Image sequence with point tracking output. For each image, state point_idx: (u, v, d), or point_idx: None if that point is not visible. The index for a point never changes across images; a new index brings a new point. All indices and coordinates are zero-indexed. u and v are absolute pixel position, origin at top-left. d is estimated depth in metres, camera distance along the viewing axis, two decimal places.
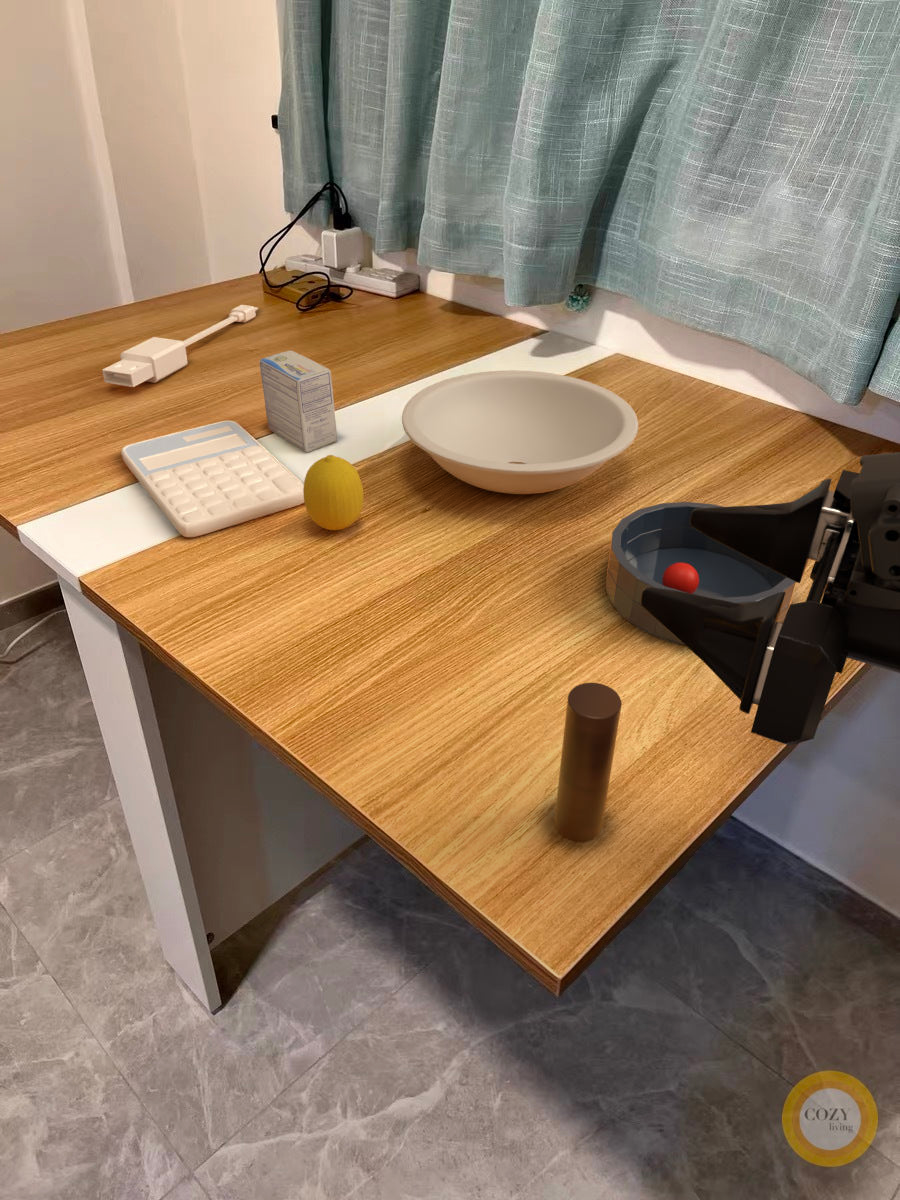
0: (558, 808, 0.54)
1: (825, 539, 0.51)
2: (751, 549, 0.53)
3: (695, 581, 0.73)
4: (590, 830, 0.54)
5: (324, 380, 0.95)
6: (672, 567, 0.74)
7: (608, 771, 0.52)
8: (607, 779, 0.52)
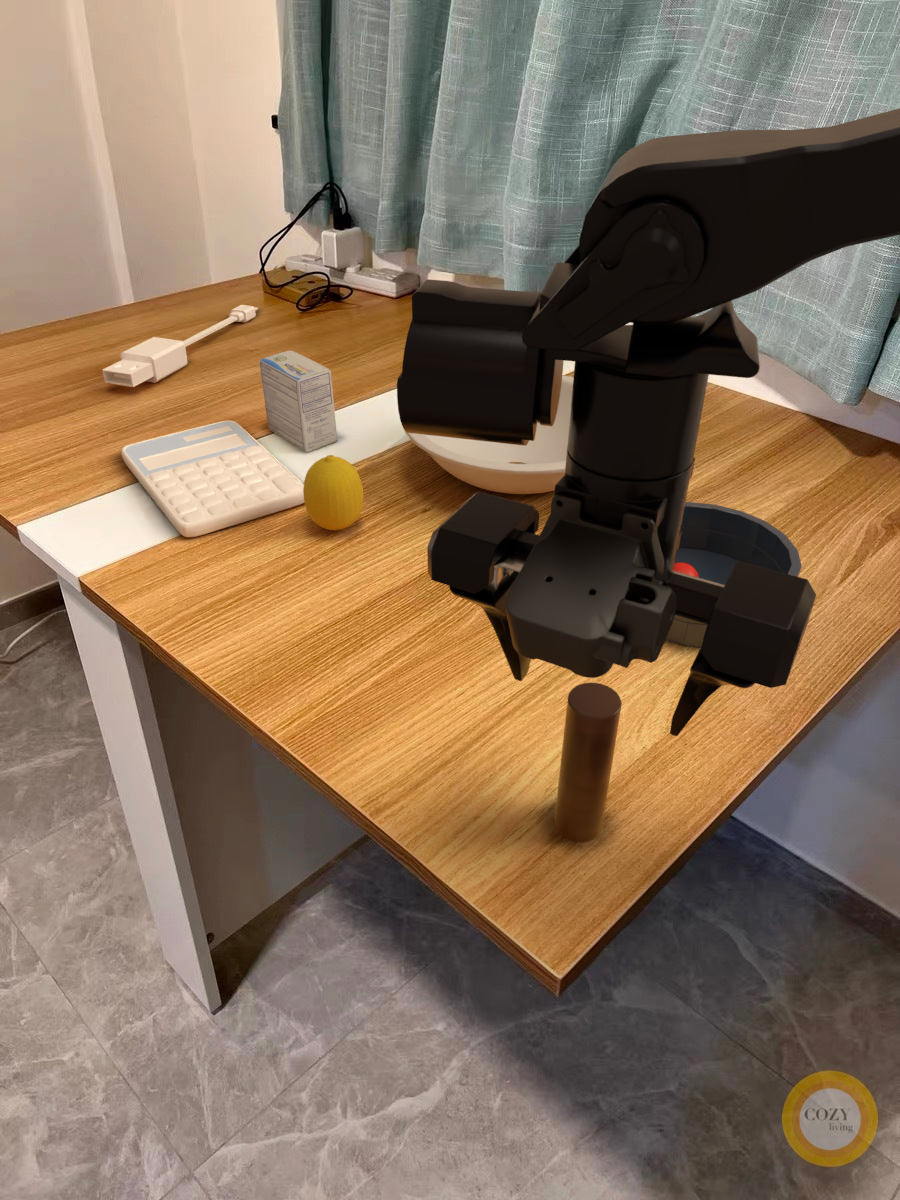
0: (558, 808, 0.54)
1: None
2: None
3: None
4: (590, 830, 0.54)
5: (324, 380, 0.95)
6: None
7: (608, 771, 0.52)
8: (607, 779, 0.52)
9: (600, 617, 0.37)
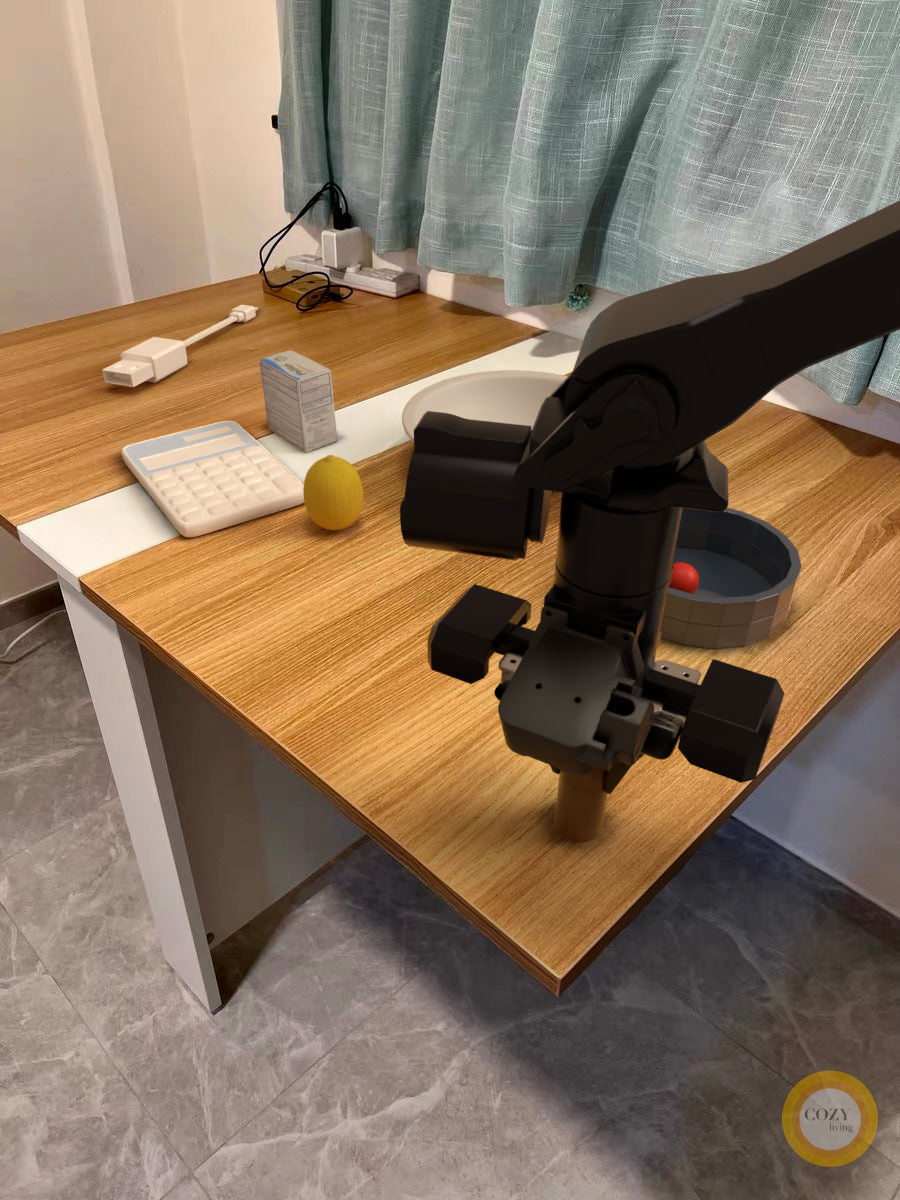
0: (558, 808, 0.54)
1: None
2: None
3: (695, 581, 0.73)
4: (590, 830, 0.54)
5: (324, 380, 0.95)
6: None
7: None
8: None
9: (584, 725, 0.41)
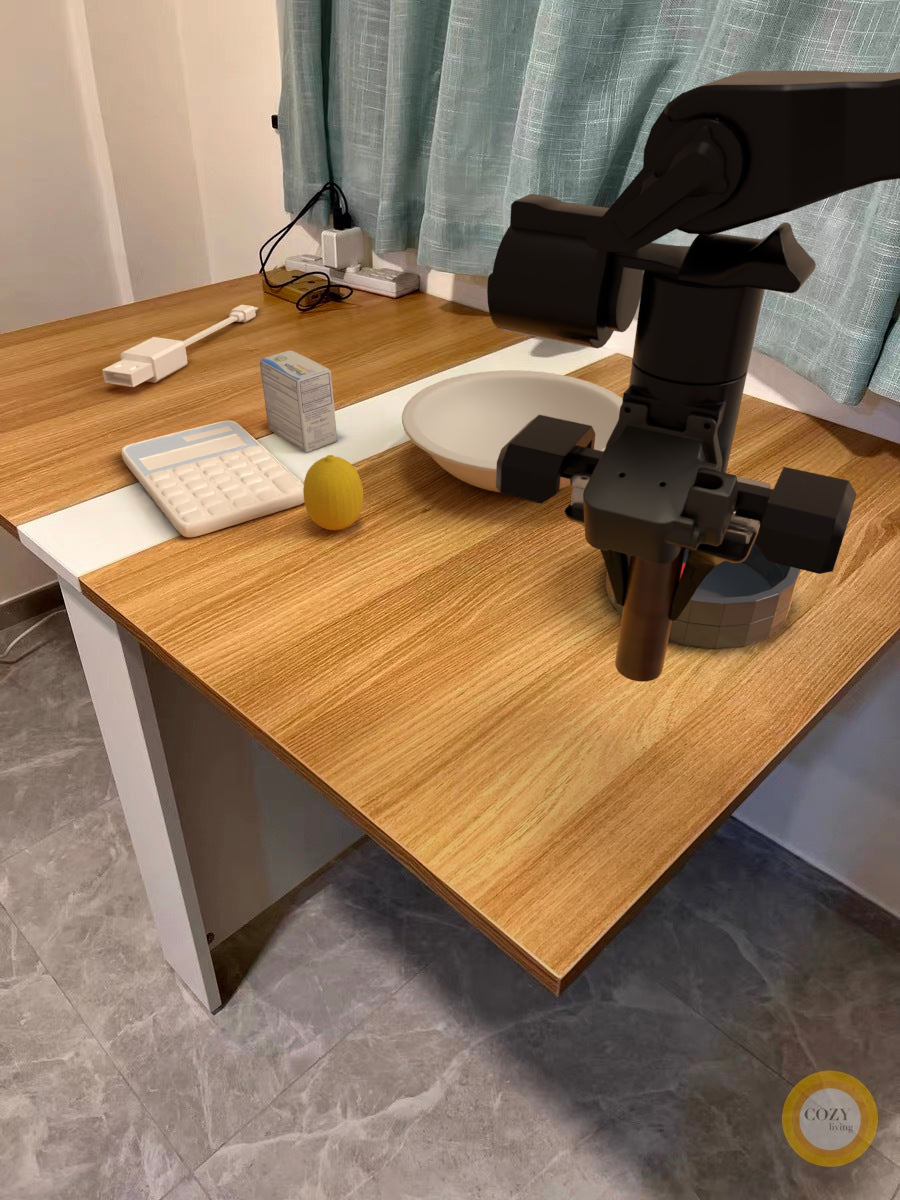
0: (621, 642, 0.55)
1: None
2: None
3: None
4: (654, 663, 0.55)
5: (324, 380, 0.95)
6: None
7: None
8: None
9: (671, 504, 0.41)
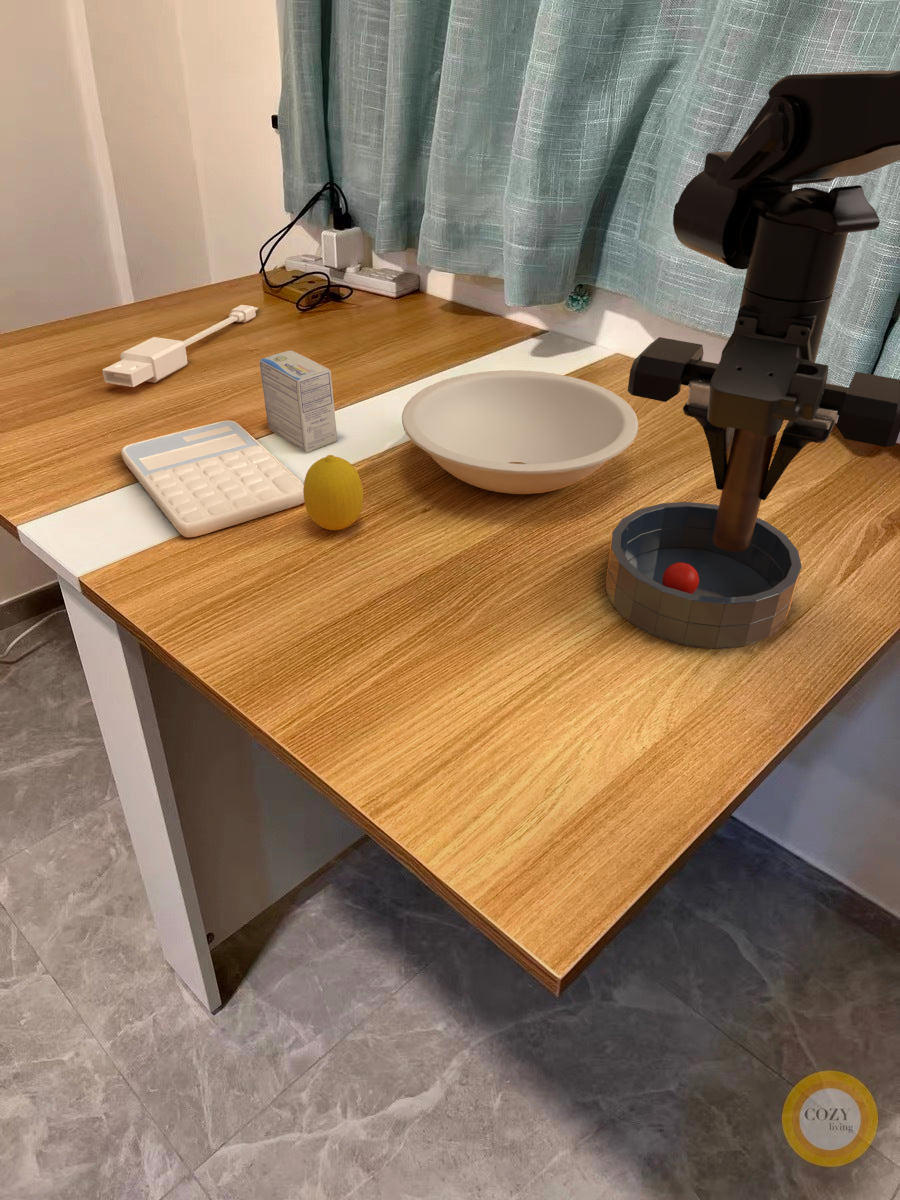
0: (719, 519, 0.70)
1: None
2: (732, 436, 0.68)
3: (695, 581, 0.73)
4: (745, 535, 0.69)
5: (324, 380, 0.95)
6: (672, 567, 0.74)
7: None
8: None
9: (778, 388, 0.56)
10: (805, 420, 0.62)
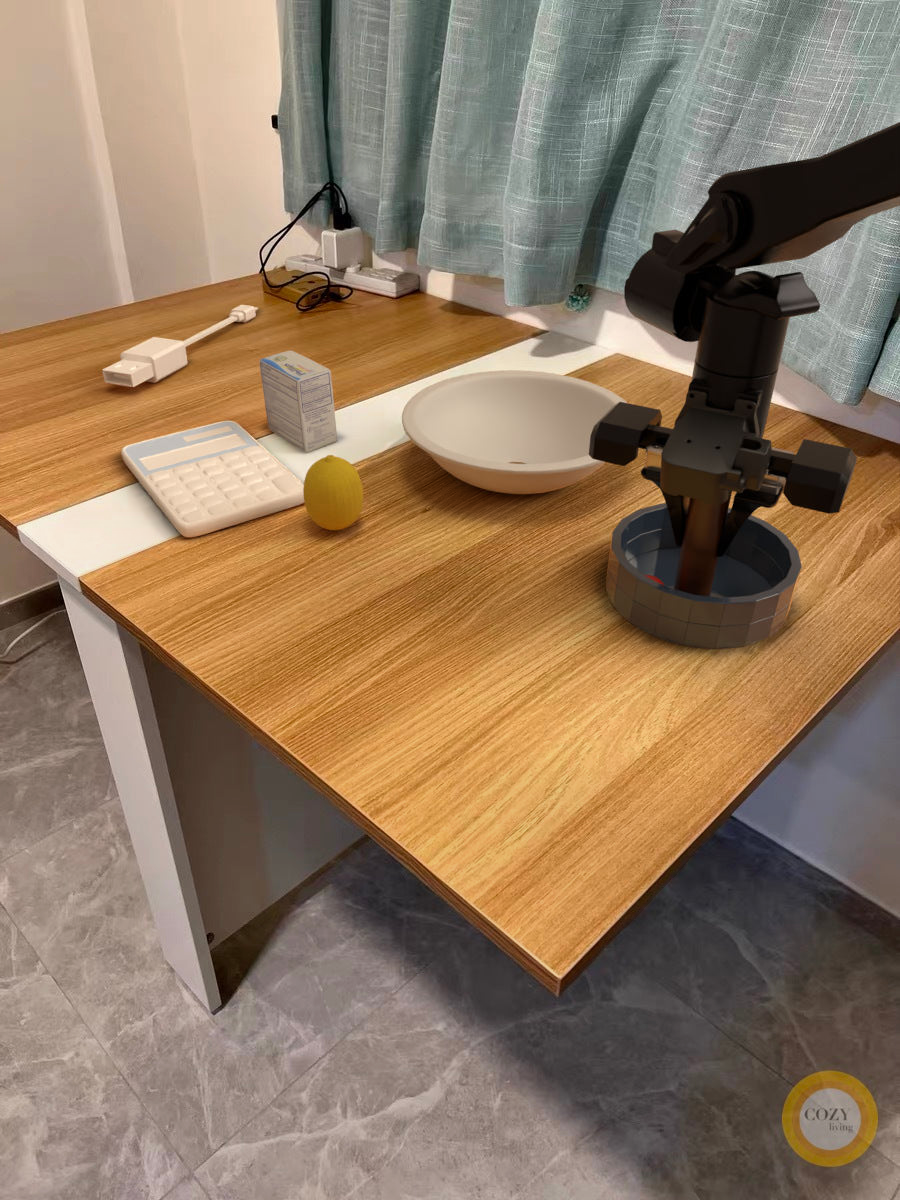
0: (679, 574, 0.73)
1: None
2: None
3: None
4: (704, 590, 0.72)
5: (324, 380, 0.95)
6: None
7: None
8: None
9: (725, 461, 0.59)
10: None
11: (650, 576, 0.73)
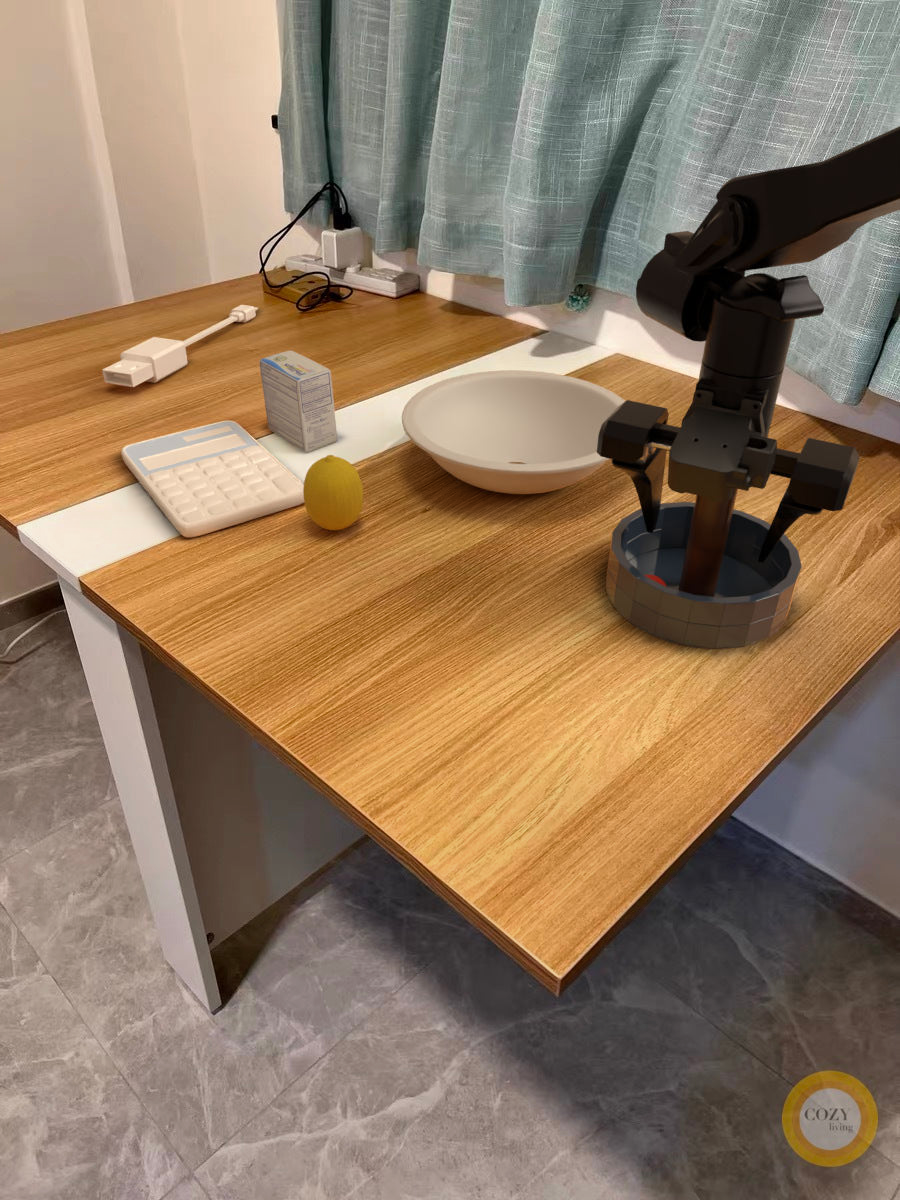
0: (685, 572, 0.74)
1: (655, 448, 0.70)
2: (660, 484, 0.73)
3: None
4: (709, 587, 0.74)
5: (324, 380, 0.95)
6: None
7: (726, 536, 0.71)
8: (724, 543, 0.72)
9: (731, 459, 0.60)
10: None
11: (653, 575, 0.73)
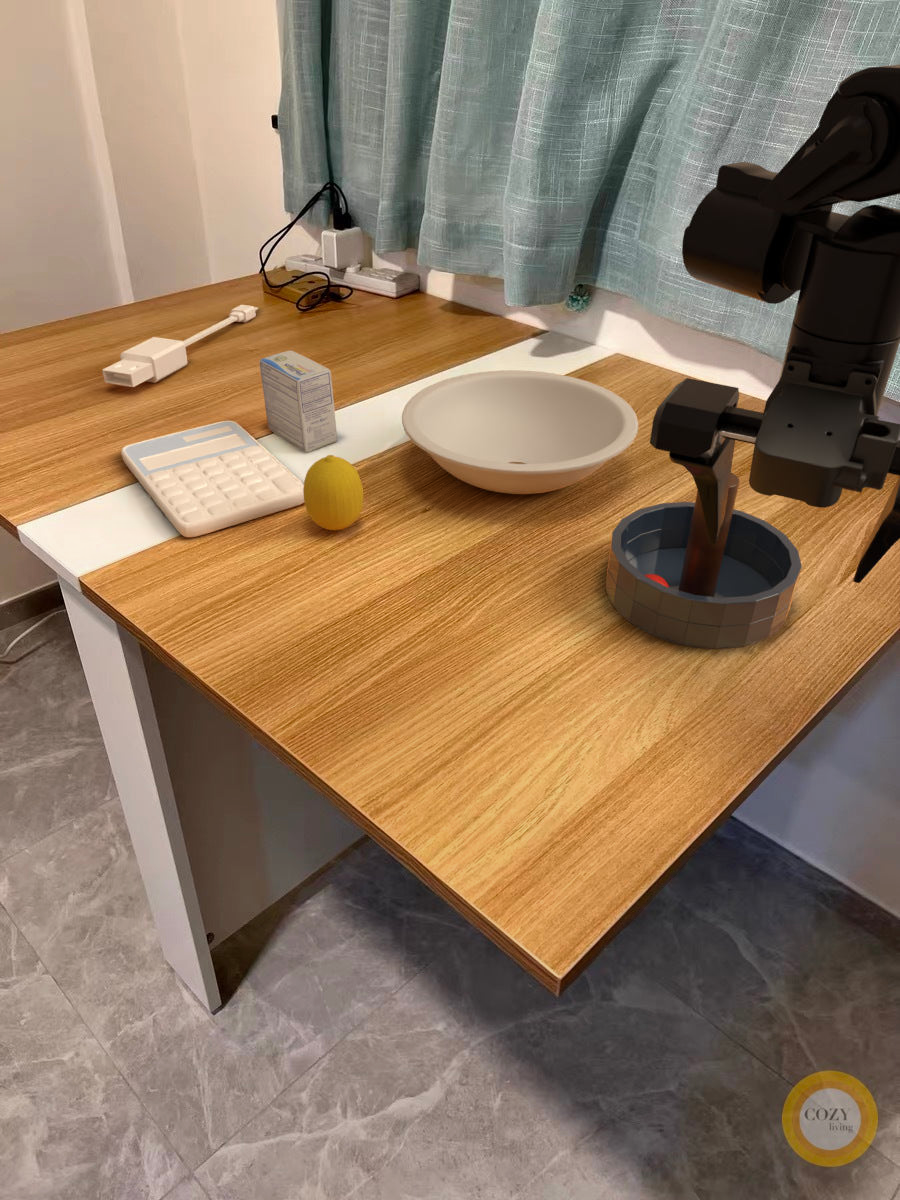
0: (685, 572, 0.74)
1: (724, 439, 0.56)
2: (727, 483, 0.59)
3: None
4: (709, 587, 0.74)
5: (324, 380, 0.95)
6: None
7: (726, 536, 0.71)
8: (724, 543, 0.72)
9: (840, 451, 0.46)
10: None
11: (656, 575, 0.73)
